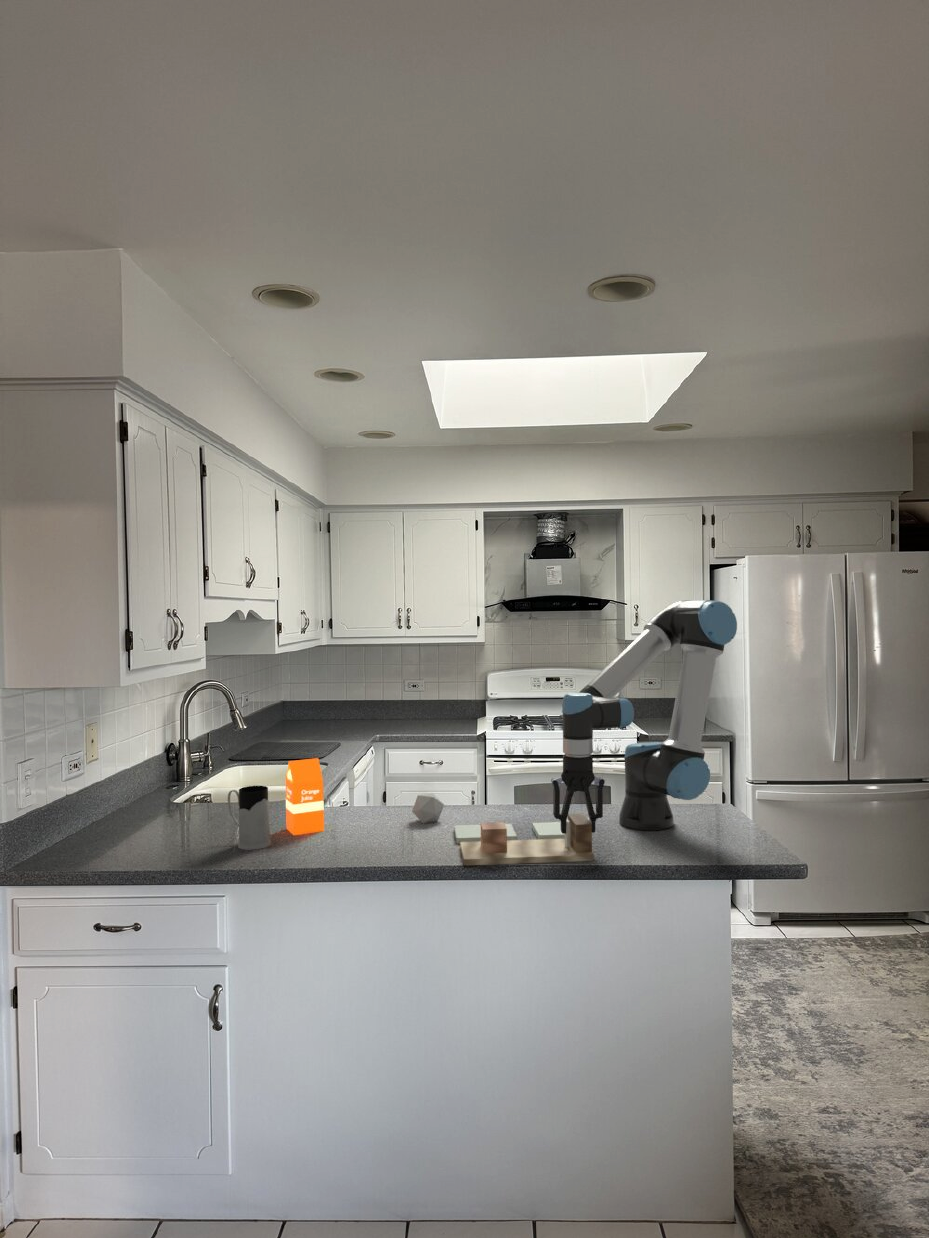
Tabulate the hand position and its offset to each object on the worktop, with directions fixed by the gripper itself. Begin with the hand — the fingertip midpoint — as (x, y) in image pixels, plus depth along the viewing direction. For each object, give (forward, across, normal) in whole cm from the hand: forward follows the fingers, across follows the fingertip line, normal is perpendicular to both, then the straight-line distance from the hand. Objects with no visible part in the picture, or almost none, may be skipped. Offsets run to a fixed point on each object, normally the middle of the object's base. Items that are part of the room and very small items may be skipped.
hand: (578, 845), depth 208 cm
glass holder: (+3, +86, -18) cm, 88 cm away
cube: (0, +22, 0) cm, 22 cm away
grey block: (+2, +37, -34) cm, 50 cm away
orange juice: (+3, +72, -29) cm, 78 cm away
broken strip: (+2, +14, -17) cm, 22 cm away
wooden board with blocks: (+2, +14, 0) cm, 14 cm away
